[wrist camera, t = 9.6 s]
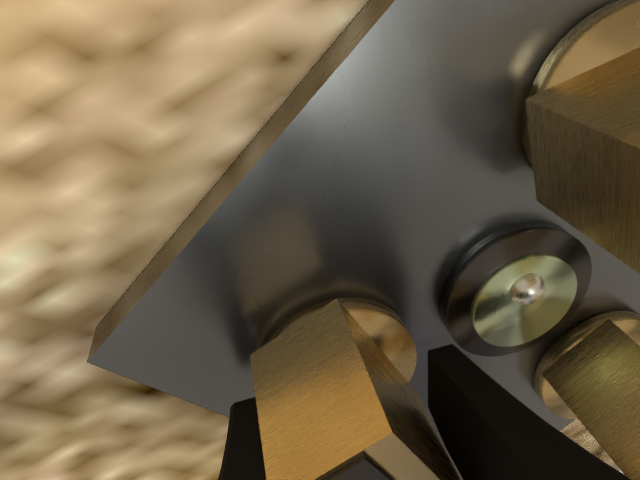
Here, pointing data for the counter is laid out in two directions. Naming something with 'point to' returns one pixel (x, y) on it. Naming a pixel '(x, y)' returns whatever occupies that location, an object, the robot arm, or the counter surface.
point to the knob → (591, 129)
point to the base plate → (381, 213)
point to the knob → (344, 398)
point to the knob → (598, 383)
